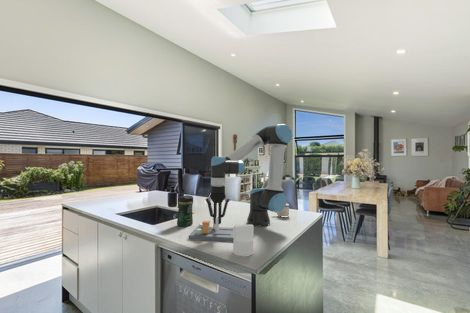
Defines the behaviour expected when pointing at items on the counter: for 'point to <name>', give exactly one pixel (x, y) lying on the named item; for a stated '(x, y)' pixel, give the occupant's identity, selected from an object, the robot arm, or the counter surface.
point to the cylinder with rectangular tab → (243, 240)
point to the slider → (205, 227)
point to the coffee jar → (185, 211)
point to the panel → (213, 234)
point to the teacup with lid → (284, 211)
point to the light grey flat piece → (202, 224)
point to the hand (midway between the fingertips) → (217, 229)
